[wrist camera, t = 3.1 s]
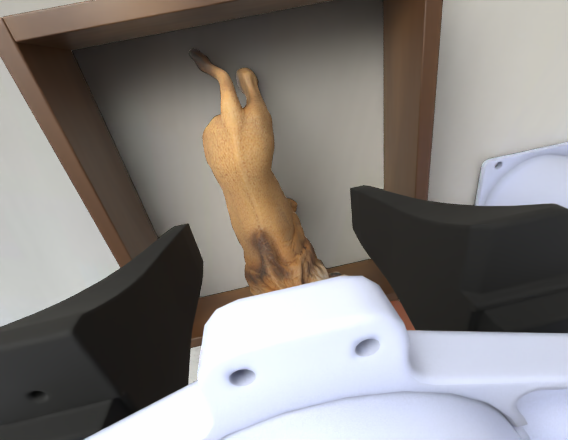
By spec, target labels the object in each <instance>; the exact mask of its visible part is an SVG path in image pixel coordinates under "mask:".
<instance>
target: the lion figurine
mask: <svg viewBox="0 0 568 440" xmlns="http://www.w3.org/2000/svg"><path fill="white" fill-rule="evenodd" d="M189 55H190V57H191V58H192V59H193V60H194V62H195V63H196V64H197V66H198V68H199V69H200V70H201V71H203V72H205V73H207V74H209V75H211V76H212V77H214V78H215V79H217V80H218V82H219V84H220V94H221V114H220V115H217V116H215V117H214V118H213V119H212V120H211V122H210V123H209V124H208V126H207V127H206V128H205V130H204V132H203V137H202V138H203V147H204V152H205V157H206V160H207V162H208V164H209V165H210V167H211V169H212V171H213V174H214V176H215V177H216V179H217V181H218V183H219V184H220V186H221V188H222V190H223V193H224V196H225V199H226V204H227V208H228V212H229V215H230V219H231V224H232V227H233V229H234V232H235V234H236V236H237V239H238V241H239V242H240V244H241V246H242V248H243V249H244V258H245V262H246V265H245V278H246V280H247V282H248V284H249V286H250V291H251V293H252V294H253V295H259V294H264V293H268V292H273V291H277V290H281V289H286V288H290V287H294V286H299V285H303V284H307V283H312V282H316V281H320V280H325V279H329V278H334V277H338V276H348V275H341V274H340V273H339V272H333V273H329V274H328V272H327V270H326V268H325V267H324V265H323V263H322V261H321V260H319V259H317V257H316V254H315V251H314V248H313V246H312V244H311V243H310V241H309V240H308V239H307V238H306V237H305V235H304V231H303V228H302V227H301V223H300V220H299V218H298V216H297V214H296V213H295V212H296V209H297V203H296V202H295V201H294V200H292V199H289V198H286V197H285V195H284V193H283V191H282V189H281V187H280V185H279V183H278V181H277V179H276V177H275V176H274V174H273V172H272V171H271V165H272V158H273V152H274V135H273V129H272V118H271V115H270V113H269V111H268V109H267V107H266V105H265V103H264V101H263V99H262V97H261V94H260V92H259V89H258V86H257V85H258V80H257V77H256V76H255V74H254V72H253V71H252V70H250V69H249V68H240V69H238V70H237V72H236V78H237V84H238V87H239V89H240V91H241V92H242V93H244V94H245V95H246V98H247V101H246V103H247V104H246V105H245V107H244V108H242V106H241V105H240V102H239V100H238V97H237V95H236V91H235V88H234V85H233V82H232V80H231V78H230V76H229V75H228V73H227V72H226V71H224V70H222V69H220V68H219V67H217V66H215V65H213V64H212V63H210V61H209V59H208V57H207V56H205V55H203V54H202V53H201V52H200V51H199V50H197V49H191V50H190V51H189Z"/></svg>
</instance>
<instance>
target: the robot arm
mask: <svg viewBox="0 0 568 440" xmlns="http://www.w3.org/2000/svg"><path fill="white" fill-rule="evenodd" d="M497 163H498V164H497ZM496 164H497V166H496V167H495V165H496ZM350 194H351V209H352V224H353V230H354V232H355V234H356V236H357V238H358V239H359V241H360V243H361V245H362V246H363V248H364V249H365V251H366V252H367V253H368V255H369V256H370V257H371V259H372V260H373V261H374V263H375V264H376V266H377V267H378V268H379V270H380V271H381V272H382V274H383V275H384V276H385V278H386V279H387V281H388V282H389V284H390V285H391V287H392V288H393V290H394V292H395V294H396V295H397V297H398V299H399V301H400V302H401V304H402V306H403V308H404V310H405V311H406V313H407V315H408V317H409V319H410V321H411V323H412V325H413V326H414V328H415V330H406V327H405V324H404V322H403V321H402V319H401V318H400V316H399V315H398V313H397V312H396V310H395V309H394V307H393V306H392V304H391V303H390V301H389V299H388V298H387V296H386V295H385V293H384V292H383V290H382V289H381V287H380V286H379V285H378V284H376V283H375V282H373V281H371V280H369V279H367V278H365V277H364V276H338V277H334V278H329V279H325V280H320V281H316V282H312V283H307V284H303V285H299V286H294V287H290V288H286V289H281V290H277V291H273V292H268V293H264V294H259V295H255V296H251V297H246V298H242V299H238V300H236V301H233V302H231V303H229V304H227V305H225V306H223V307H220V308H218V309H216V310H215V312H214V313H213V314H212V316H211V317H210V319H209V320H208V321H207V323H206V324H205V325H204V332H203V339H202V346H201V352H200V359H199V366H198V380H197V381H195V382H193V383H191V384H189V385H188V378H189V362H190V349H191V338H192V330H193V323H194V319H195V314H196V309H197V304H198V300H199V295H200V290H201V285H202V278H203V260H202V257H201V254H200V252H199V249H198V247H197V244H196V242H195V239H194V236H193V234H192V231H191V229H190V226H189V224H184V225H180V226H175V227H173V228H171V229H170V230H168V231H167V232H166V233H165V234H163V235H162V236H161V237H160V238H159V239H157V240H156V241H155V242H154V243H152V244H151V245H150V246H149V247H148V248H146V249H145V250H144V251H143V252H141V253H140V254H139V255H138V256H136V257H135V258H134V259H132V260H131V261H130V262H128V263H127V264H126V265H124V266H123V267H121V268H120V269H119V270H117V271H116V272H114V273H112V274H111V275H109V276H108V277H106V278H105V279H103V280H101V281H100V282H98V283H96V284H94V285H92V286H90V287H89V288H87V289H85V290H83V291H81V292H80V293H78V294H76V295H74V296H72V297H70V298H68V299H66V300H64V301H62V302H60V303H57V304H55V305H53V306H51V307H49V308H46V309H44V310H42V311H40V312H37V313H35V314H32V315H30V316H27V317H25V318H22V319H20V320H17V321H15V322H12V323H10V324H7V325H4V326H2V327H0V440H568V142H564V143H560V144H555V145H551V146H546V147H541V148H537V149H532V150H527V151H523V152H518V153H514V154H509V155H504V156H500V157H495V158H490V159H487V160H486V161H484V163H483V164H482V166H481V171H480V177H479V183H478V189H477V195H476V201H475V206H473V205H458V204H447V203H440V202H433V201H427V200H422V199H417V198H412V197H408V196H404V195H400V194H396V193H393V192H389V191H386V190H382V189H379V188H375V187H371V186H364V185H363V186H359V187H354V188H350Z"/></svg>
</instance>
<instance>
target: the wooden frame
mask: <svg viewBox="0 0 568 440" xmlns="http://www.w3.org/2000/svg"><path fill="white" fill-rule="evenodd" d="M327 1H332V0H90V1H85V2H79V3H74V4H69V5H63V6H58V7H52V8H47V9H42V10H36V11H31V12H25V13H20V14H15V15H9V16H4V17H3V18H1V17H0V57H1V58H2V60H3V62H4V64H5V65H6V67H7V69H8V71H9V72H10V74H11V76H12V78H13V79H14V81H15V83H16V85H17V87H18V88H19V90H20V92H21V94H22V95H23V97H24V99H25V101H26V102H27V104H28V106H29V108H30V109H31V111H32V113H33V115H34V116H35V118H36V120H37V122H38V123H39V125H40V127H41V129H42V130H43V132H44V134H45V136H46V138H47V139H48V141H49V143H50V145H51V146H52V148H53V150H54V152H55V153H56V155H57V157H58V159H59V160H60V162H61V164H62V166H63V167H64V169H65V171H66V173H67V174H68V176H69V178H70V180H71V181H72V183H73V185H74V187H75V189H76V190H77V192H78V194H79V196H80V197H81V199H82V201H83V203H84V204H85V206H86V208H87V210H88V211H89V213H90V215H91V217H92V218H93V220H94V222H95V224H96V225H97V227H98V229H99V231H100V232H101V234H102V236H103V238H104V240H105V241H106V243H107V245H108V247H109V248H110V250H111V252H112V254H113V255H114V257H115V259H116V261H117V262H118V264H119V266H120V268H121V267H123V266H124V265H126V264H127V263H128V262H130V261H131V260H132V259H134V258H135V257H136V256H138V255H139V254H140V253H141V252H143V251H144V250H145V249H146V248H148V247H149V246H150V245H151V244H152V243H154V242H155V241H156V240H157V239H158V238H157V235H156V233H155V231H154V229H153V227H152V225H151V222H150V220H149V218H148V216H147V214H146V212H145V209H144V207H143V205H142V203H141V201H140V199H139V196H138V194H137V192H136V190H135V188H134V185H133V183H132V181H131V179H130V177H129V175H128V172H127V170H126V168H125V166H124V164H123V162H122V159H121V157H120V155H119V153H118V151H117V149H116V146H115V144H114V142H113V140H112V138H111V135H110V133H109V131H108V129H107V127H106V125H105V122H104V120H103V118H102V116H101V114H100V112H99V109H98V107H97V105H96V103H95V101H94V99H93V96H92V94H91V92H90V90H89V88H88V85H87V83H86V81H85V79H84V77H83V75H82V72H81V70H80V68H79V66H78V64H77V62H76V59H75V57H74V55H73V53H72V51H71V50H76V49H81V48H87V47H92V46H97V45H102V44H107V43H113V42H118V41H123V40H128V39H134V38H139V37H144V36H149V35H154V34H160V33H165V32H170V31H175V30H181V29H186V28H191V27H196V26H201V25H207V24H212V23H217V22H222V21H228V20H233V19H238V18H243V17H248V16H254V15H259V14H264V13H269V12H275V11H280V10H285V9H290V8H295V7H301V6H306V5H311V4H316V3H322V2H327ZM442 6H443V0H383V51H384V190H386V191H389V192H393V193H396V194H400V195H404V196H408V197H412V198H417V199H422V200H427V201H428V188H429V175H430V162H431V149H432V136H433V123H434V110H435V97H436V84H437V71H438V58H439V45H440V32H441V19H442ZM326 270H327V272H328V274H329V273H333V272H339V273H340V274H341V275H348V276H364V277H365V278H367V279H369V280H371V281H373V282H375V283H376V284H378V285H379V286H380V287H381V289H382V290H383V292H384V293H385V295H386V296H387V298H388V299H389V301H390V302H391V301H395V300H399V299H398V297H397V295H396V294H395V292H394V290H393V288H392V287H391V285H390V284H389V282H388V281H387V279H386V278H385V276H384V275H383V274H382V272H381V271H380V270H379V268H378V267H377V266H376V264H375V263H374V261H373V260H372V259H368V260H364V261H359V262H355V263H351V264H346V265H342V266H337V267H333V268H329V269H326ZM251 296H255V295H253V294H252V293H251V291H250V286H249V287H245V288H240V289H236V290H231V291H227V292H222V293H218V294H214V295H209V296H205V297H200V298H199V300H198V304H197V309H196V314H195V319H194V323H193V330H192V338H191V348H193V347H197V346H202V339H203V332H204V325H205V324H206V323H207V321H208V320H209V319H210V317H211V316H212V314H213V313H214V312H215V310H216V309H218V308H220V307H223V306H225V305H227V304H229V303H231V302H233V301H236V300H238V299H242V298H246V297H251Z"/></svg>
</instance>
